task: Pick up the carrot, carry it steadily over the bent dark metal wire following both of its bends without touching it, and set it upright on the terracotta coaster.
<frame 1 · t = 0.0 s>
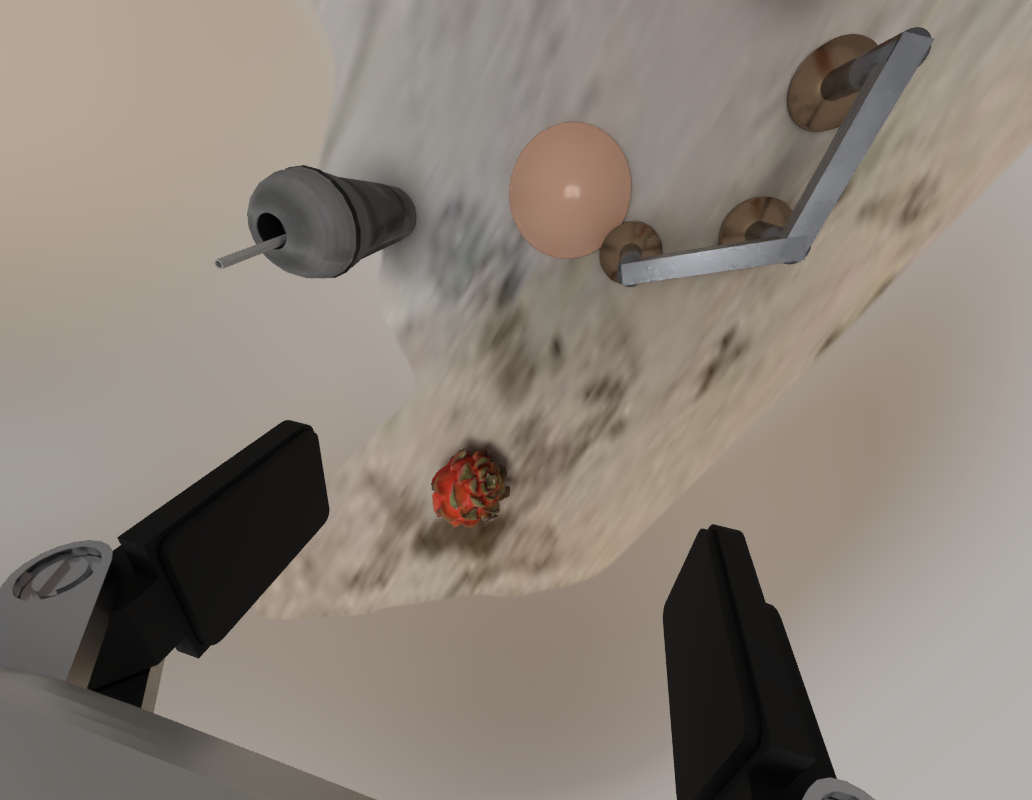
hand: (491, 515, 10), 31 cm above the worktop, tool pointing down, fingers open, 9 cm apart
beverage cup: (394, 213, 39), on the worktop
terracotta coaster: (569, 194, 34), on the worktop
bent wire: (725, 190, 32), on the worktop
dragon fruit: (479, 471, 51), on the worktop
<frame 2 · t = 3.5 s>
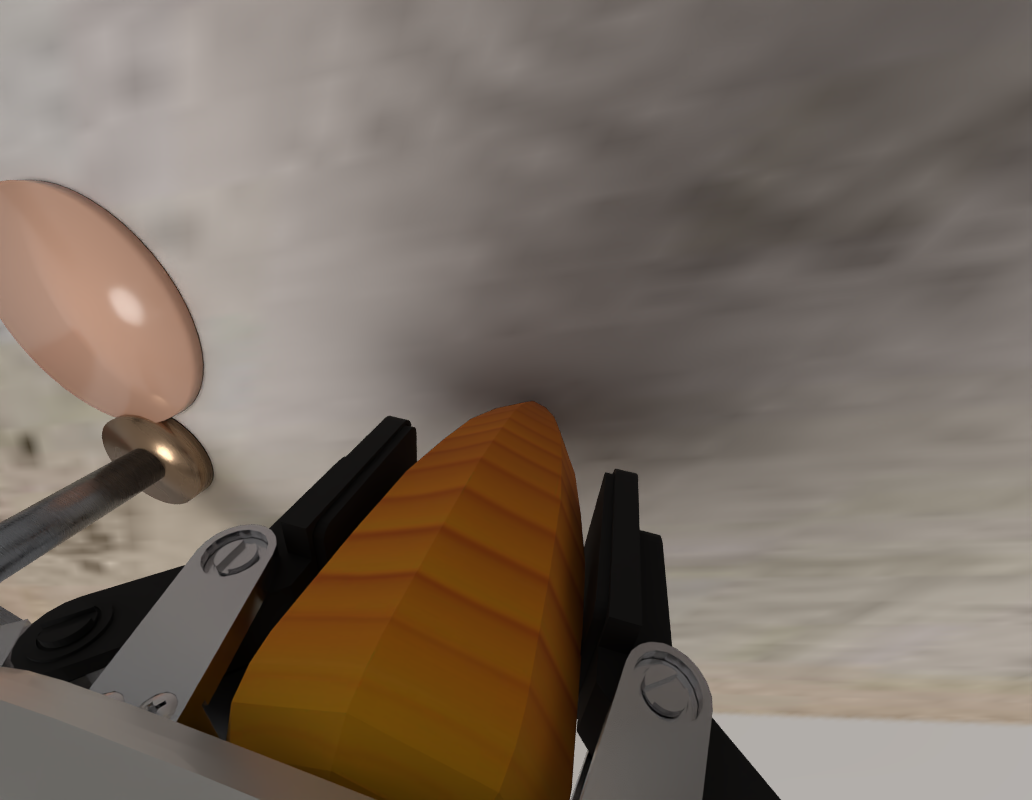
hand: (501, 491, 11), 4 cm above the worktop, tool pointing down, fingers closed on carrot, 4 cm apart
carrot: (535, 407, 15), on the worktop, touching gripper
terracotta coaster: (97, 314, 17), on the worktop
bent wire: (312, 506, 20), on the worktop
when the fingers open (6 cm above the worktop, at t = 13.9 s): carrot drops 1 cm, resting on terracotta coaster.
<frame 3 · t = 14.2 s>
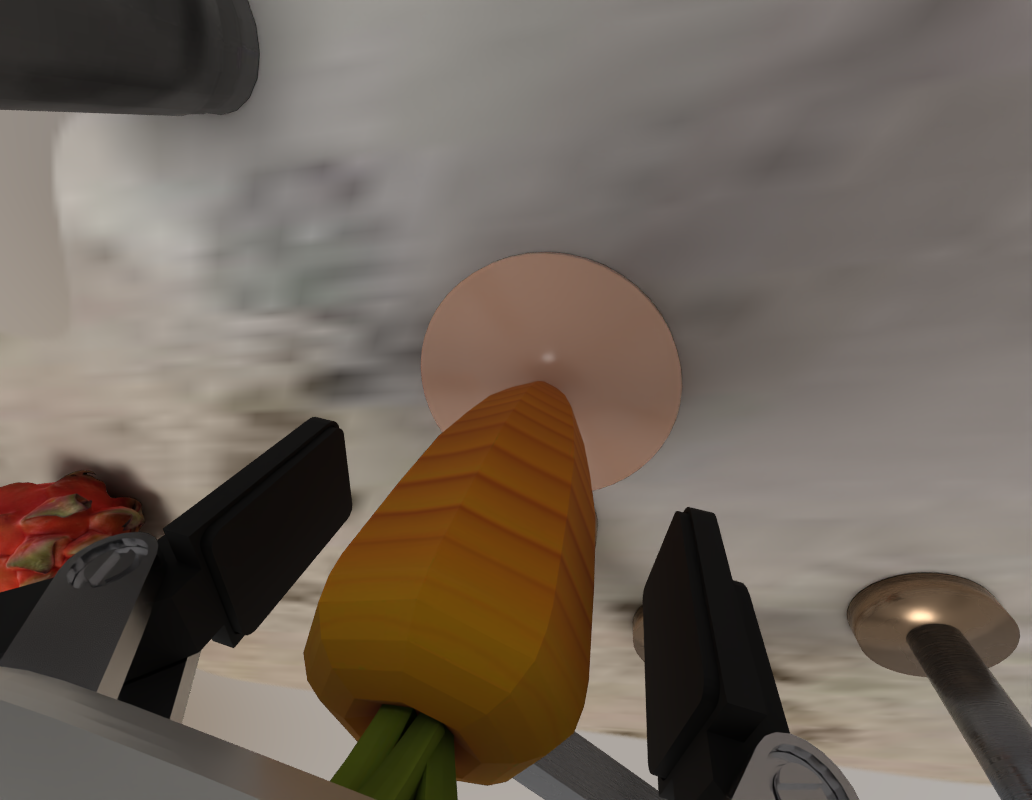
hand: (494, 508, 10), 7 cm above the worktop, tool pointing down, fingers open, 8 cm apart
beverage cup: (202, 32, 13), on the worktop
carrot: (546, 387, 16), resting on terracotta coaster
terracotta coaster: (544, 384, 16), on the worktop
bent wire: (711, 578, 19), on the worktop
dragon fruit: (119, 503, 29), on the worktop
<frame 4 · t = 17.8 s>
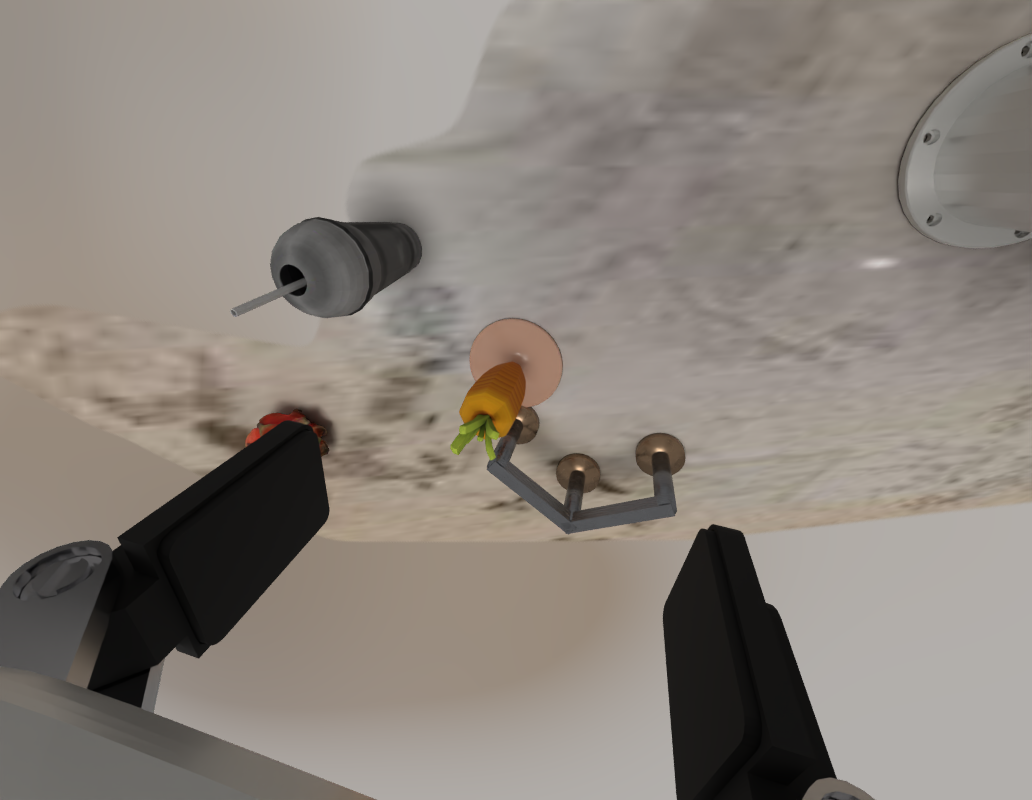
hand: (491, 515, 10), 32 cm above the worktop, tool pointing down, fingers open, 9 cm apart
beverage cup: (401, 247, 41), on the worktop
carrot: (516, 364, 44), resting on terracotta coaster
terracotta coaster: (515, 364, 44), on the worktop
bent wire: (585, 443, 47), on the worktop
dragon fruit: (306, 428, 56), on the worktop
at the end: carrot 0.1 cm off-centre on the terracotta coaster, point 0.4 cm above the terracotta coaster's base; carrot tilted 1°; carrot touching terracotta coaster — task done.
